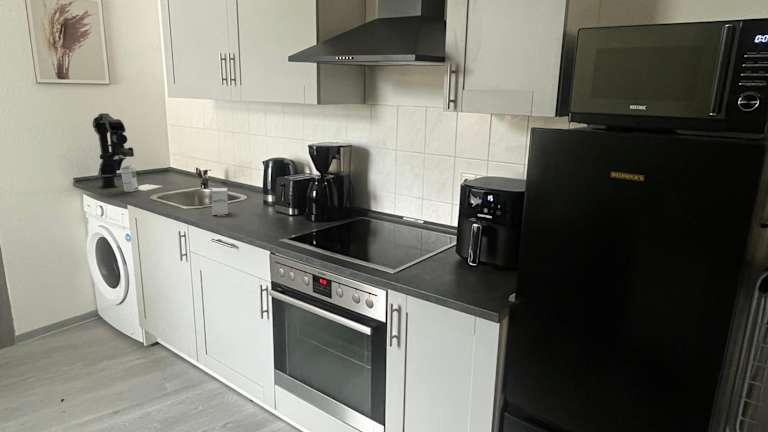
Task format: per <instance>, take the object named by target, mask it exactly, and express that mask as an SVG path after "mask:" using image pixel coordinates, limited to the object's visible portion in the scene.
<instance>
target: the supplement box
mask: <svg viewBox="0 0 768 432" xmlns="http://www.w3.org/2000/svg"><path fill="white" fill-rule="evenodd" d="M228 189H229V188H228V187H212V188H211V210H212V211H211V212H212V216H213V215H217V214H229V200H228V199H229V197H228V194H229V193H228V191H229V190H228ZM217 216H218V215H217Z"/></svg>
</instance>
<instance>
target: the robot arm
mask: <svg viewBox="0 0 768 432" xmlns="http://www.w3.org/2000/svg"><path fill="white" fill-rule="evenodd" d="M124 124H125V123H124V122H123V121H122V120H121V119H118V118H114V117H112V116H111V115H110V113H101V112H100V113H98V115H97V116H95V117H94V118H93V120H92V128H93V129H94V132H95V133H96V135H98V141H99V148H100V155H99V159H100V160H101V161H100V164H99V168H98V173H97V175H98V178H100V179H101V186H99V188H102V189H112V188H116V187H118V186H117V185H116V182H115V178H116V177H117V176H118V175H117V173H118V171H120V172H121V167H122V165H123V162H124V160H126V159H127V158H128V157H129V158H130V157H131V158H133V157H135V156H134V155H135V154H134V148H133V147H131V146H129V147H127V148H126V147H125V145H126V144H127V142H128V137H127V135H125V134H124V133H126V127H125V125H124ZM108 134H109V137H108ZM109 140H110V141H109ZM109 142H110V144H109Z"/></svg>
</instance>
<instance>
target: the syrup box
mask: <svg viewBox="0 0 768 432" xmlns="http://www.w3.org/2000/svg"><path fill="white" fill-rule="evenodd" d="M136 171H137V170H136V165H133V164H129V165H127V164H126V165H124V166H121V168H120V173H121V180H122V184H123V190H124V192H126V193H127V192H131V193H132V192H135V191H140V190H139V188H138V186H139V183H138V177H137V172H136Z"/></svg>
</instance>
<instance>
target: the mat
mask: <svg viewBox="0 0 768 432" xmlns="http://www.w3.org/2000/svg"><path fill="white" fill-rule="evenodd" d="M163 187H164V186H163V185H156V184H148V183H146V184H142V185H138V188H139V190H138V191H142V192H146V191H150V190H155V189H160V188H163Z"/></svg>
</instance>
